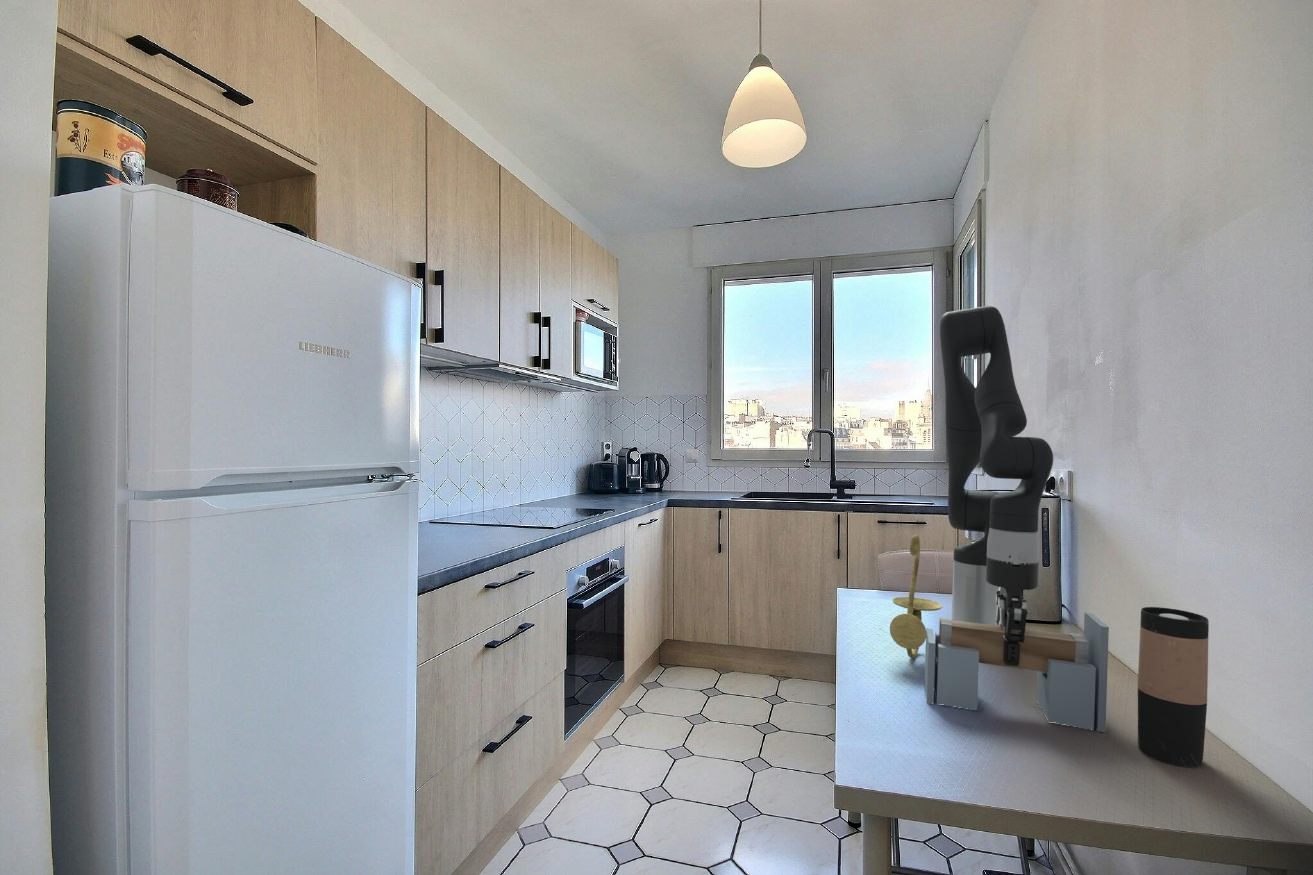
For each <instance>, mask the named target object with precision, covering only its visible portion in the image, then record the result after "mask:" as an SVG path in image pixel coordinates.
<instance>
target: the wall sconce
mask: <svg viewBox="0 0 1313 875" xmlns="http://www.w3.org/2000/svg"><path fill="white" fill-rule="evenodd" d="M909 546H910V547H909V552H910V555H911V556H913V557H914V559H913V566H912V570H911V571H912V572H911V579H910V583H909V584H910V585H909V593H908V596H898V597H895V598H892V603H893V604H894V605H896V606H898V607H901V608H903V609H907V611H906V613H901V614H898V615H896V616H895V617H893V619H892V620H891V622H890V625H889V634H890V637H891V638H892V640H893V642H895V643H896V644H897V645H898V646H899V647H900V648H903V649H906V652H907V656H908V658H910V659H915V657H916V656H917V654H918V652H919V649H920V647H921V646H922V645H924V643H926V628H927V627H926V626H925V624H924V623H923V620H922V619H923V618H922V611H923V612H926V611H927V612H933V611H939V610H942V608H943V607H944V606H943V605H942V603H940V602H937V601H934V600H931V599H926V598H921V597H915V593H916V584H917V578H918V572H919V564H920V556H921V542H920V536H919V535H918V534H913V535H912V536H911V539H910V545H909Z"/></svg>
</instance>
